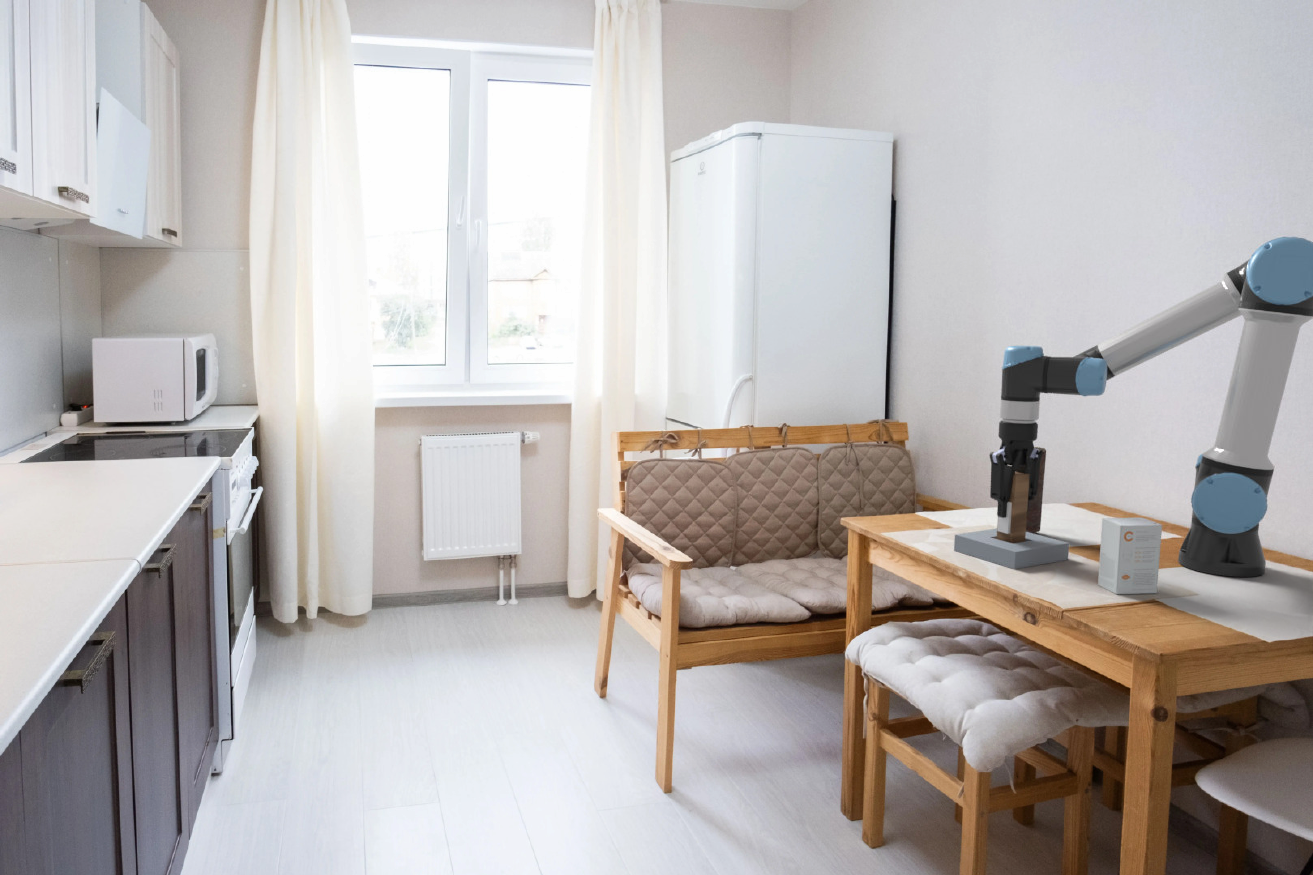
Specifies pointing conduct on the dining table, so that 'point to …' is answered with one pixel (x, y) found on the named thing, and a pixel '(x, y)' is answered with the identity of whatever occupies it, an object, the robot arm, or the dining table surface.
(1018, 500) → the peg
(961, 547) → the socket
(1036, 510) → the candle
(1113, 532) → the small box
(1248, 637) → the dining table surface
